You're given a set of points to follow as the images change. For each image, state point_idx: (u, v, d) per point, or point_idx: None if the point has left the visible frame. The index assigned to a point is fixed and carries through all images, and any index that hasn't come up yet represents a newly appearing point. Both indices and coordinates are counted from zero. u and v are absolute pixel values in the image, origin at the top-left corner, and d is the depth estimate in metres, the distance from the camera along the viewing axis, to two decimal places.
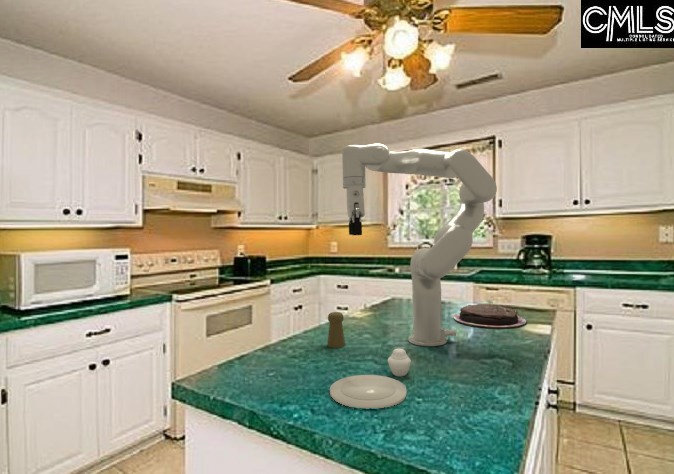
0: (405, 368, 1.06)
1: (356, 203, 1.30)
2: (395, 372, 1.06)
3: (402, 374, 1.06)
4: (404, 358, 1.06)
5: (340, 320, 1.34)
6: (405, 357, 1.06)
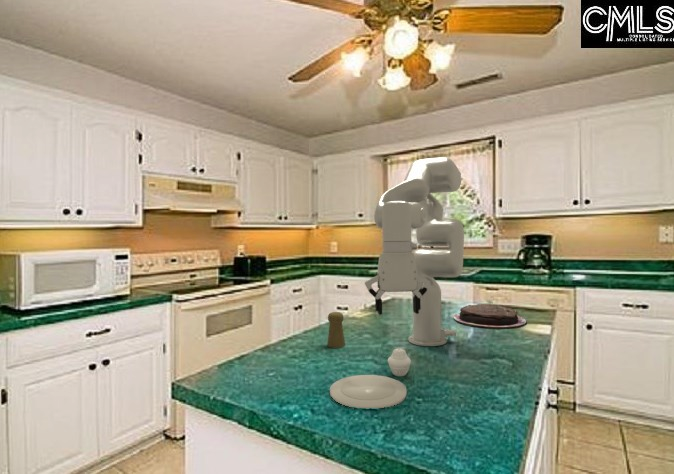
0: (405, 368, 1.06)
1: None
2: (395, 372, 1.06)
3: (402, 374, 1.06)
4: (404, 358, 1.06)
5: (340, 320, 1.34)
6: (405, 357, 1.06)
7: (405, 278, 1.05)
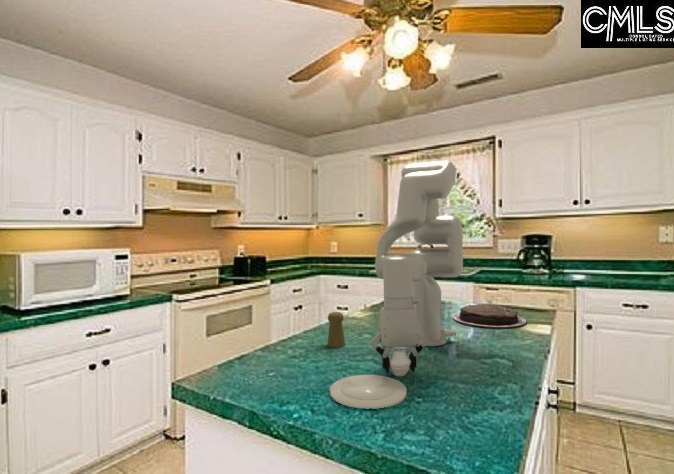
0: (405, 368, 1.05)
1: None
2: (395, 372, 1.06)
3: (402, 374, 1.06)
4: (404, 358, 1.06)
5: (340, 320, 1.34)
6: (405, 357, 1.06)
7: (406, 334, 1.05)
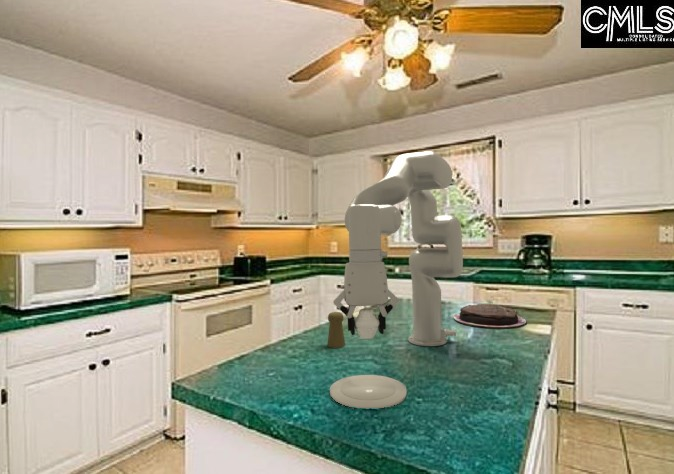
0: (372, 329, 0.94)
1: None
2: (361, 334, 0.94)
3: (369, 336, 0.94)
4: (371, 318, 0.94)
5: (340, 320, 1.34)
6: (372, 317, 0.94)
7: (374, 291, 0.93)
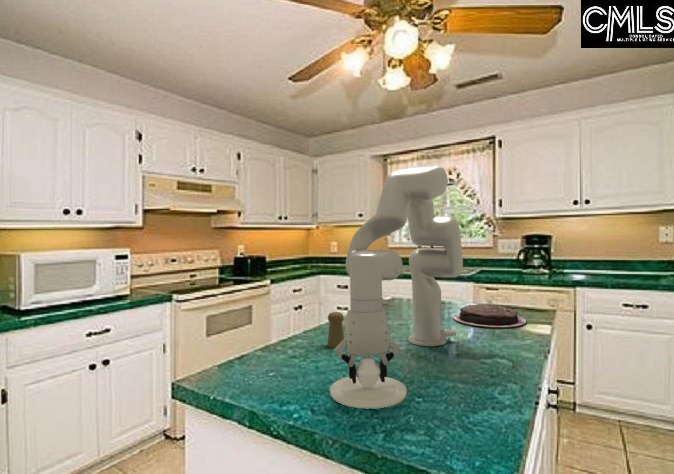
0: (373, 378, 0.94)
1: None
2: (363, 382, 0.95)
3: (370, 385, 0.95)
4: (372, 367, 0.94)
5: (340, 320, 1.34)
6: (374, 366, 0.95)
7: (375, 340, 0.94)
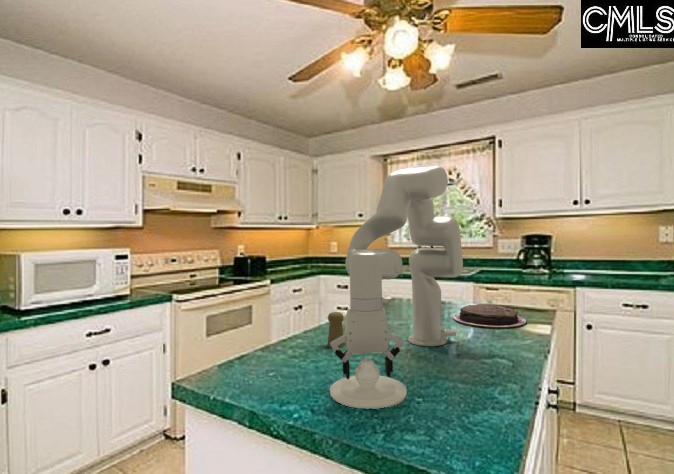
0: (373, 381, 0.94)
1: None
2: (362, 385, 0.95)
3: (370, 388, 0.95)
4: (372, 369, 0.94)
5: (340, 320, 1.34)
6: (373, 368, 0.95)
7: (375, 339, 0.94)
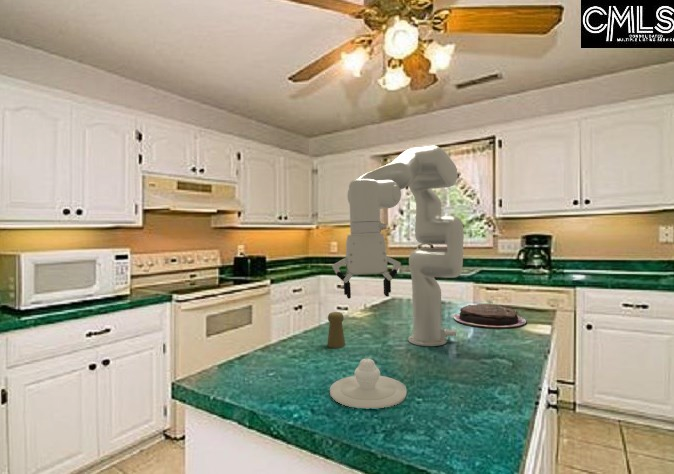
0: (373, 381, 0.94)
1: None
2: (362, 385, 0.95)
3: (370, 388, 0.95)
4: (372, 369, 0.94)
5: (340, 320, 1.34)
6: (373, 368, 0.95)
7: (374, 260, 1.00)
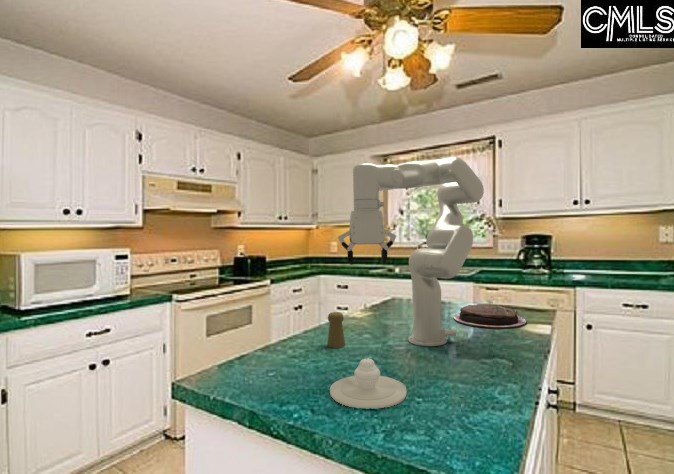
0: (373, 381, 0.94)
1: (383, 229, 1.21)
2: (362, 385, 0.95)
3: (370, 388, 0.95)
4: (372, 369, 0.94)
5: (340, 320, 1.34)
6: (373, 368, 0.95)
7: (373, 232, 1.18)
